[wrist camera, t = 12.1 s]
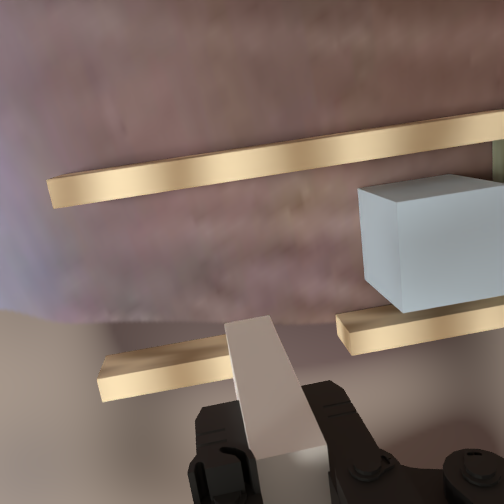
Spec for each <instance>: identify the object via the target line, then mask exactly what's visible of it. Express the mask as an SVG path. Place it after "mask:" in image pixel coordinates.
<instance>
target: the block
mask: <svg viewBox="0 0 504 504" xmlns="http://www.w3.org/2000/svg"><path fill="white" fill-rule="evenodd" d="M358 199H359V211H360V224H361V236H362V249H363V261H364V274H365V280H366V281H367V282H368V283H369V284H371V285H372V286H373V287H374V288H375V289H376V290H377V291H378V292H380V293H381V294H382V295H383V296H384V297H385V298H386V299H387V300H389V301H390V302H391V303H392V304H393V305H394V306H395V307H396V308H398V309H399V310H400V311H401V312H402V313H407V312H413V311H419V310H424V309H430V308H435V307H441V306H447V305H452V304H458V303H463V302H469V301H475V300H480V299H486V298H491V297H497V296H503V295H504V183H499V182H494V181H488V180H482V179H477V178H471V177H465V176H459V175H454V174H446V175H440V176H433V177H427V178H420V179H414V180H408V181H401V182H395V183H389V184H382V185H376V186H370V187H363V188H358Z"/></svg>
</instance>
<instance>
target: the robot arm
mask: <svg viewBox="0 0 504 504" xmlns="http://www.w3.org/2000/svg"><path fill="white" fill-rule="evenodd" d="M224 325H225V331H226V337H227V343H228V349H229V355H230V361H231V367H232V373H233V379H234V384H235V391H236V396H237V400H236V401H232V402H227V403H222V404H217V405H212V406H207V407H202V409H201V411H200V413H199V415H198V416H197V418H196V420H195V429H196V452H197V455H196V456H195V457H194V459H193V460H192V461H191V463H190V465H189V469H188V478H189V482H190V487H191V492H192V497H193V501H194V504H504V458H502V457H500V456H498V455H496V454H494V453H492V452H489V451H485V450H481V449H462V450H459V451H455V452H453V453H452V454H450V455H449V456H448V457H446V459H445V462H444V464H443V469H418V468H410V467H407V466H404V465H400V463H399V462H398V461H397V460H396V458H394V456H393V455H392V454H390V453H388V452H386V451H384V450H382V449H379V447H378V446H377V444H376V442H375V441H374V439H373V437H372V436H371V434H370V432H369V431H368V429H367V428H366V426H365V424H364V423H363V421H362V419H361V417H360V416H359V414H358V413H357V412H356V409H355V407H354V406H353V404H352V403H351V401H350V399H349V397H348V396H347V394H346V392H345V391H344V389H343V388H341V387H340V386H338V385H336V384H335V383H333V382H332V381H330V380H328V381H323V382H318V383H314V384H309V385H304V386H301V385H300V383H299V381H298V379H297V377H296V374H295V372H294V370H293V368H292V365H291V363H290V361H289V359H288V356H287V354H286V352H285V350H284V347H283V345H282V343H281V341H280V338H279V336H278V334H277V332H276V329H275V327H274V325H273V323H272V320H271V318H270V316H269V315H267V316H262V317H257V318H251V319H246V320H240V321H235V322H230V323H224Z"/></svg>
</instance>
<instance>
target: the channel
mask: <svg viewBox="0 0 504 504" xmlns="http://www.w3.org/2000/svg"><path fill="white" fill-rule="evenodd" d="M488 141H492V155H493V181H494V182H499V183H504V109H497V110H491V111H484V112H477V113H471V114H464V115H457V116H451V117H444V118H437V119H431V120H424V121H417V122H411V123H404V124H397V125H391V126H384V127H377V128H371V129H364V130H357V131H351V132H344V133H337V134H331V135H324V136H317V137H311V138H304V139H297V140H291V141H284V142H277V143H271V144H264V145H257V146H251V147H244V148H237V149H231V150H224V151H217V152H211V153H204V154H197V155H191V156H184V157H177V158H171V159H164V160H157V161H151V162H144V163H137V164H131V165H124V166H117V167H111V168H104V169H97V170H91V171H84V172H77V173H71V174H64V175H60V176H57V177H54V178H51V179H48V180H46V181H47V185H48V189H49V193H50V197H51V201H52V205H53V209H56V208H62V207H68V206H75V205H81V204H88V203H94V202H101V201H107V200H114V199H120V198H126V197H133V196H139V195H146V194H152V193H159V192H165V191H172V190H178V189H185V188H191V187H197V186H204V185H210V184H217V183H223V182H230V181H236V180H243V179H249V178H255V177H262V176H268V175H275V174H281V173H288V172H294V171H301V170H307V169H314V168H320V167H326V166H333V165H339V164H346V163H352V162H359V161H365V160H372V159H378V158H384V157H391V156H397V155H404V154H410V153H417V152H423V151H430V150H436V149H442V148H449V147H455V146H462V145H468V144H475V143H481V142H488ZM336 324H337V334H338V336H339V338H340V339H341V341H342V342H343V344H344V345H345V346H346V348H347V349H348V351H349V352H350V354H351V355H352V356H353V355H358V354H364V353H369V352H374V351H379V350H385V349H390V348H396V347H401V346H406V345H412V344H417V343H422V342H428V341H433V340H439V339H444V338H449V337H455V336H460V335H465V334H470V333H476V332H481V331H487V330H492V329H497V328H503V327H504V295H503V296H497V297H491V298H486V299H480V300H475V301H469V302H463V303H458V304H452V305H447V306H441V307H435V308H430V309H424V310H419V311H413V312H407V313H402V312H401V311H400V310H399V309H398V308H396V307H395V306H394V305H393V304H391V305H386V306H380V307H374V308H369V309H363V310H358V311H352V312H346V313H341V314H336ZM230 378H233V373H232V367H231V361H230V355H229V349H228V343H227V337H226V334H224V335H218V336H213V337H207V338H202V339H196V340H191V341H185V342H179V343H174V344H168V345H163V346H157V347H151V348H146V349H140V350H135V351H129V352H124V353H118V354H112V355H107V356H106V357H105V360H104V362H103V365H102V367H101V370H100V372H99V375H98V377H97V382H98V386H99V390H100V394H101V398H102V402H106V401H112V400H117V399H122V398H128V397H133V396H139V395H144V394H149V393H154V392H160V391H165V390H171V389H176V388H181V387H187V386H192V385H197V384H203V383H208V382H214V381H219V380H224V379H230Z"/></svg>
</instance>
